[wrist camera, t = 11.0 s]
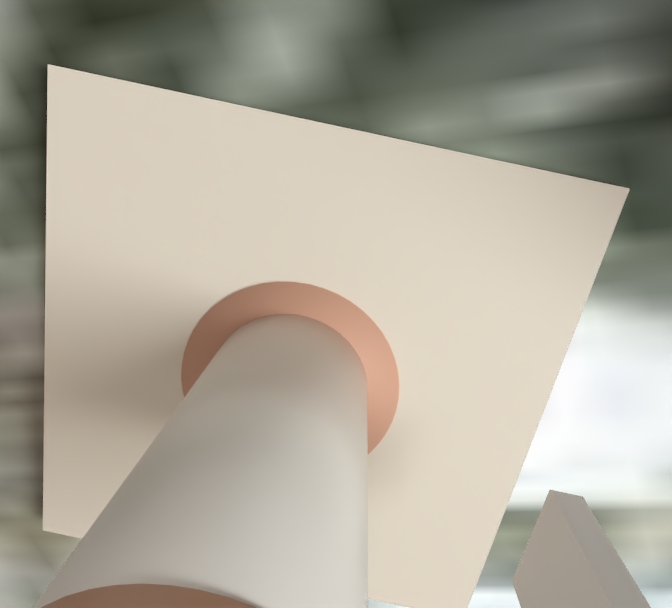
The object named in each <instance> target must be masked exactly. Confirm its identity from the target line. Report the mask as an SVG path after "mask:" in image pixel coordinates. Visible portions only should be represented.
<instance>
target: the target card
mask: <svg viewBox="0 0 672 608" xmlns="http://www.w3.org/2000/svg"><path fill="white" fill-rule="evenodd" d="M629 190H630V189H629V188H625V187H620V186H615V185H611V184H606V183H601V182H597V181H592V180H587V179H583V178H578V177H573V176H569V175H564V174H559V173H554V172H550V171H545V170H540V169H536V168H531V167H526V166H522V165H517V164H512V163H508V162H503V161H498V160H494V159H489V158H484V157H480V156H475V155H470V154H466V153H461V152H456V151H452V150H447V149H442V148H438V147H433V146H428V145H423V144H419V143H414V142H409V141H405V140H400V139H395V138H391V137H386V136H381V135H377V134H372V133H367V132H363V131H358V130H353V129H349V128H344V127H339V126H335V125H330V124H325V123H321V122H316V121H311V120H307V119H302V118H297V117H292V116H288V115H283V114H278V113H274V112H269V111H264V110H260V109H255V108H250V107H246V106H241V105H236V104H232V103H227V102H222V101H218V100H213V99H208V98H204V97H199V96H194V95H190V94H185V93H180V92H176V91H171V90H166V89H161V88H157V87H152V86H147V85H143V84H138V83H133V82H129V81H124V80H119V79H115V78H110V77H105V76H101V75H96V74H91V73H87V72H82V71H77V70H73V69H68V68H63V67H59V66H54V65H49V64H48V79H47V175H46V270H45V366H44V462H43V530H44V531H48V532H53V533H58V534H63V535H67V536H72V537H77V538H83V537H84V536H85V534H86V533H87V532H88V530H89V529H90V527H91V526H92V525H93V523H94V522H95V521H96V519H97V518H98V516H99V515H100V514H101V512H102V511H103V509H104V508H105V507H106V505H107V504H108V503H109V501H110V500H111V498H112V497H113V496H114V494H115V493H116V491H117V490H118V489H119V487H120V486H121V485H122V483H123V482H124V480H125V479H126V478H127V476H128V475H129V474H130V472H131V471H132V469H133V468H134V467H135V465H136V464H137V462H138V461H139V460H140V458H141V457H142V456H143V454H144V453H145V451H146V450H147V449H148V447H149V446H150V444H151V443H152V442H153V440H154V439H155V438H156V436H157V435H158V433H159V432H160V431H161V429H162V428H163V426H164V425H165V424H166V422H167V421H168V420H169V418H170V417H171V415H172V414H173V413H174V411H175V410H176V409H177V407H178V406H179V404H180V403H181V402H182V400H183V399H184V397H185V396H186V395H187V393H188V392H189V391H190V389H191V388H192V386H193V385H194V384H195V382H196V381H197V379H198V378H199V377H200V375H201V374H202V373H203V371H204V370H205V368H206V367H207V366H208V364H209V363H210V362H211V360H212V359H213V357H214V356H215V355H216V353H217V352H218V350H219V349H220V348H221V346H222V345H223V344H224V342H225V341H226V340H227V338H228V337H229V336H230V335H231V334H232V333H233V332H235V331H236V330H237V329H239V328H240V327H241V326H243V325H245V324H247V323H248V322H250V321H252V320H255V319H258V318H260V317H264V316H269V315H276V314H294V315H301V316H306V317H309V318H313V319H315V320H318V321H320V322H323V323H325V324H326V325H328V326H330V327H332V328H333V329H334V330H336V331H337V332H339V333H340V334H341V335H342V336H343V337H344V338H345V339H346V340H347V341H348V342H349V343H350V344H351V345H352V347H353V348H354V349H355V351H356V352H357V354H358V356H359V357H360V359H361V362H362V364H363V366H364V370H365V373H366V378H367V422H368V599H371V600H376V601H381V602H386V603H390V604H395V605H400V606H405V607H409V608H468V605H469V602H470V600H471V597H472V595H473V592H474V589H475V587H476V584H477V582H478V579H479V577H480V574H481V571H482V569H483V566H484V564H485V561H486V559H487V556H488V553H489V551H490V548H491V546H492V543H493V540H494V538H495V535H496V533H497V530H498V528H499V525H500V522H501V520H502V517H503V515H504V512H505V510H506V507H507V504H508V502H509V499H510V497H511V494H512V491H513V489H514V486H515V484H516V481H517V479H518V476H519V473H520V471H521V468H522V466H523V463H524V460H525V458H526V455H527V453H528V450H529V448H530V445H531V442H532V440H533V437H534V435H535V432H536V430H537V427H538V424H539V422H540V419H541V417H542V414H543V411H544V409H545V406H546V404H547V401H548V399H549V396H550V393H551V391H552V388H553V386H554V383H555V381H556V378H557V375H558V373H559V370H560V368H561V365H562V362H563V360H564V357H565V355H566V352H567V350H568V347H569V344H570V342H571V339H572V337H573V334H574V332H575V329H576V326H577V324H578V321H579V319H580V316H581V313H582V311H583V308H584V306H585V303H586V301H587V298H588V295H589V293H590V290H591V288H592V285H593V283H594V280H595V277H596V275H597V272H598V270H599V267H600V264H601V262H602V259H603V257H604V254H605V252H606V249H607V246H608V244H609V241H610V239H611V236H612V234H613V231H614V228H615V226H616V223H617V221H618V218H619V215H620V213H621V210H622V208H623V205H624V203H625V200H626V197H627V195H628V192H629Z"/></svg>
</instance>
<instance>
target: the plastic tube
mask: <svg viewBox="0 0 672 608" xmlns="http://www.w3.org/2000/svg"><path fill="white" fill-rule="evenodd" d="M33 608H368V422H367V378H366V373H365V370H364V366H363V364H362V362H361V359H360V357H359V356H358V354H357V352H356V351H355V349H354V348H353V347H352V345H351V344H350V343H349V342H348V341H347V340H346V339H345V338H344V337H343V336H342V335H341V334H340V333H339V332H337V331H336V330H334V329H333V328H332V327H330V326H328V325H326V324H325V323H323V322H320V321H318V320H315V319H313V318H309V317H306V316H301V315H294V314H276V315H269V316H264V317H260V318H258V319H255V320H252V321H250V322H248V323H247V324H245V325H243V326H241V327H240V328H239V329H237V330H236V331H235V332H233V333H232V334H231V335H230V336H229V337H228V338H227V340H226V341H225V342H224V344H223V345H222V346H221V348H220V349H219V350H218V352H217V353H216V355H215V356H214V357H213V359H212V360H211V362H210V363H209V364H208V366H207V367H206V368H205V370H204V371H203V373H202V374H201V375H200V377H199V378H198V379H197V381H196V382H195V384H194V385H193V386H192V388H191V389H190V391H189V392H188V393H187V395H186V396H185V397H184V399H183V400H182V402H181V403H180V404H179V406H178V407H177V409H176V410H175V411H174V413H173V414H172V415H171V417H170V418H169V420H168V421H167V422H166V424H165V425H164V426H163V428H162V429H161V431H160V432H159V433H158V435H157V436H156V438H155V439H154V440H153V442H152V443H151V444H150V446H149V447H148V449H147V450H146V451H145V453H144V454H143V456H142V457H141V458H140V460H139V461H138V462H137V464H136V465H135V467H134V468H133V469H132V471H131V472H130V474H129V475H128V476H127V478H126V479H125V480H124V482H123V483H122V485H121V486H120V487H119V489H118V490H117V491H116V493H115V494H114V496H113V497H112V498H111V500H110V501H109V503H108V504H107V505H106V507H105V508H104V509H103V511H102V512H101V514H100V515H99V516H98V518H97V519H96V521H95V522H94V523H93V525H92V526H91V527H90V529H89V530H88V532H87V533H86V534H85V536H84V537H83V538H82V540H81V541H80V543H79V544H78V545H77V547H76V548H75V550H74V551H73V552H72V554H71V555H70V556H69V558H68V559H67V561H66V562H65V563H64V565H63V566H62V568H61V569H60V570H59V572H58V573H57V574H56V576H55V577H54V579H53V580H52V581H51V583H50V584H49V585H48V587H47V588H46V590H45V591H44V592H43V594H42V595H41V597H40V598H39V599H38V601H37V602H36V603H35V605H34V606H33Z"/></svg>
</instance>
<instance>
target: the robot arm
mask: <svg viewBox="0 0 672 608" xmlns="http://www.w3.org/2000/svg"><path fill="white" fill-rule="evenodd" d="M512 582H513V585H514V588H515V591H516V594H517V597H518V600H519V603H520V606H521V608H651V607H650V606H649V604H648V602H647V601H646V599H645V597H644V596H643V594H642V593H641V591H640V589H639V588H638V586H637V584H636V583H635V581H634V580H633V578H632V576H631V575H630V573H629V571H628V570H627V568H626V566H625V565H624V563H623V562H622V560H621V558H620V557H619V555H618V553H617V552H616V550H615V549H614V547H613V545H612V544H611V542H610V540H609V539H608V537H607V535H606V534H605V532H604V531H603V529H602V527H601V526H600V524H599V522H598V521H597V519H596V518H595V516H594V514H593V513H592V511H591V509H590V508H589V506H588V504H587V503H586V501H585V500H584V498H583V497H581V496H577V495H572V494H567V493H563V492H558V491H553V490H550V491H549V493H548V496H547V498H546V501H545V503H544V505H543V508H542V510H541V512H540V515H539V517H538V520H537V522H536V524H535V527H534V529H533V532H532V534H531V536H530V539H529V541H528V544H527V546H526V548H525V551H524V553H523V556H522V558H521V560H520V563H519V565H518V568H517V570H516V572H515V575H514V577H513V580H512Z"/></svg>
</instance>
